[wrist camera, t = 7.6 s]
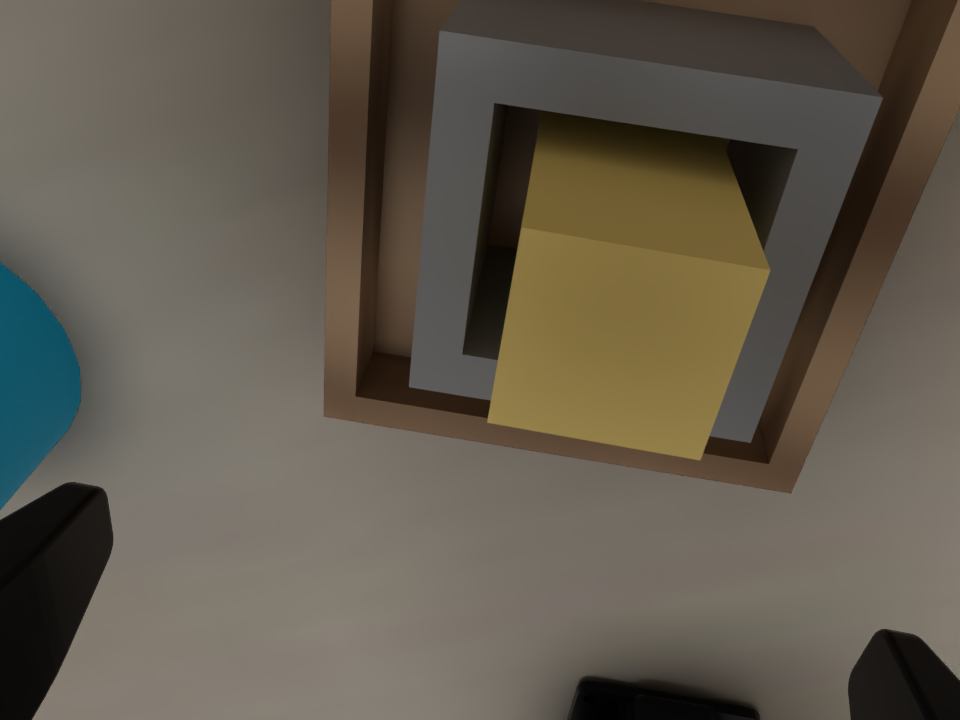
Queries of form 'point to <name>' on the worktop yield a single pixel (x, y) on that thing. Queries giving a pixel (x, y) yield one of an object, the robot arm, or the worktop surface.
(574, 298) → the mustard yellow cuboid
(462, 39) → the socket
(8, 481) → the mug
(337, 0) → the walled box
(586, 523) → the worktop surface
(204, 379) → the worktop surface
